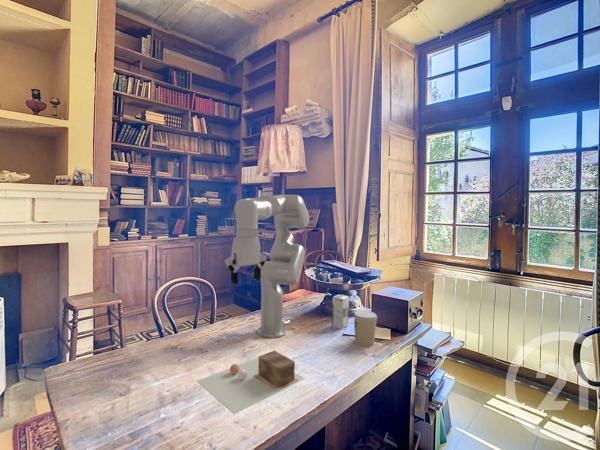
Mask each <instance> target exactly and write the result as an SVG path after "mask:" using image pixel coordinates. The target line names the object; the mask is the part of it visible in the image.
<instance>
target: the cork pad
mask: <svg viewBox="0 0 600 450" xmlns="http://www.w3.org/2000/svg"><path fill="white" fill-rule="evenodd" d="M254 377H255V378H257V379H258V380H259V381H261V382H262V383H264V384H265V385H267V386H268V387H270V388H271V389H273V390H274V391H278V390H281V389H283V388H285V387H287V386H289V385H291V384H293V383H295V382H297V381H298V379H296V378H295V377H294V381H292V382H290V383H288V384H286V385H284V386H282V387H280V388H278V387H276V386H274V385H273V384H271V383H270V382H268V381H267V380H265V379H264V378H262V377H261V376H259V375H258V374H257V375H255V376H254ZM297 383H298V382H297ZM295 384H296V383H295ZM293 385H294V384H293ZM291 386H292V385H291ZM289 387H290V386H289ZM287 388H288V387H287ZM285 389H286V388H285ZM283 390H284V389H283ZM281 391H282V390H281Z"/></svg>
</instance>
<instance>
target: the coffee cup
mask: <svg viewBox="0 0 600 450" xmlns="http://www.w3.org/2000/svg"><path fill="white" fill-rule="evenodd" d="M353 317H354V321H353V322H354V342H355V343H356V345H359V346H362V347H372V346H374V344H375V339H376V338H375V337H376V328H377V319H378V316H377V314H376V313H375V312H372V311H369V310H357V311H355V313H353Z"/></svg>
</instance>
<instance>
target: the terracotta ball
mask: <svg viewBox="0 0 600 450" xmlns="http://www.w3.org/2000/svg"><path fill="white" fill-rule="evenodd" d="M238 365H239V364H237V363H233V364H231V365H230V366H229V367H230V368H229V369H230V372H231V373H232V374H237V373H238V371H239V366H238Z"/></svg>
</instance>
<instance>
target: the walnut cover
mask: <svg viewBox="0 0 600 450" xmlns="http://www.w3.org/2000/svg"><path fill="white" fill-rule="evenodd" d="M258 358H259V367H258V375H259V376H261V377H262V378H264V379H265V380H267V381H268V382H270V383H271V384H273V385H274V386H276V387H278V388H280V387H282V386H284V385H286V384H288V383H290V382H292V381H294V372H295V370H296V369H295V368H296V367H295V366H296V363H295V361H294V360H293V359H290V358H289V357H287V356H285V355H283V354H281V353H279V352H277V351H276V350H273V351H270V352H267V353H264V354H262V355H259V356H258ZM295 373H296V372H295Z"/></svg>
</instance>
